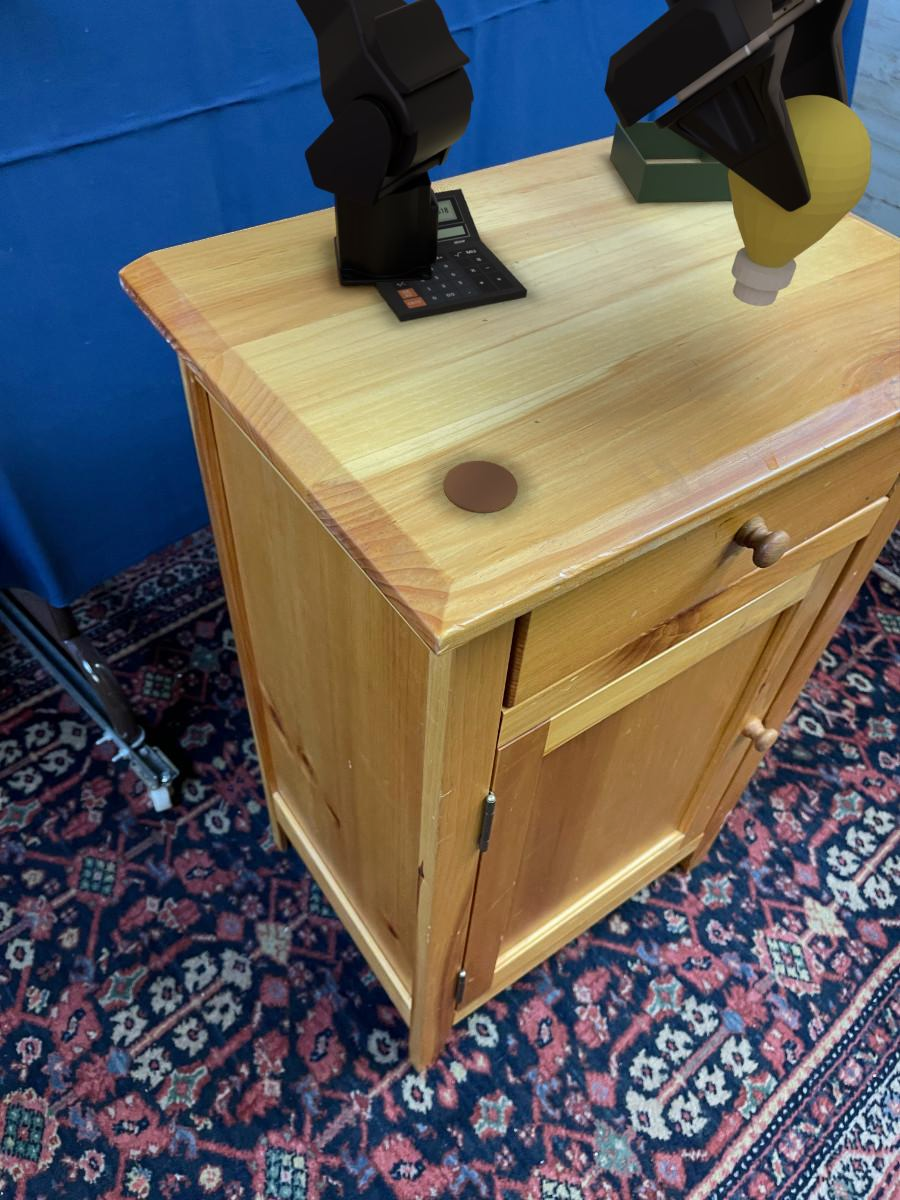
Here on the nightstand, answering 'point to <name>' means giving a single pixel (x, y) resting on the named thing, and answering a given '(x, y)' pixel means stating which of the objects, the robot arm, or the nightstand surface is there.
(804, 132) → the light bulb
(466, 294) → the calculator
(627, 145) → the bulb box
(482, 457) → the nightstand surface
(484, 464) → the coaster
